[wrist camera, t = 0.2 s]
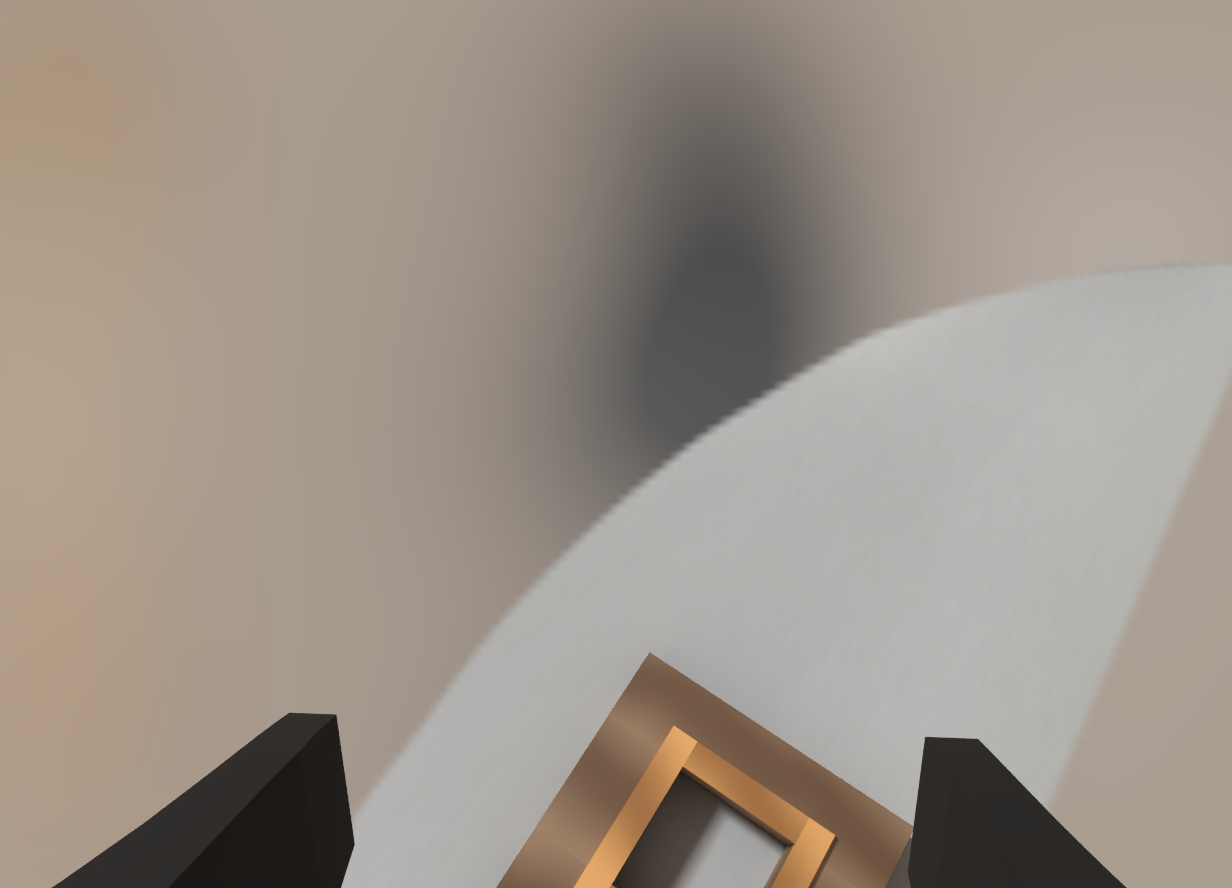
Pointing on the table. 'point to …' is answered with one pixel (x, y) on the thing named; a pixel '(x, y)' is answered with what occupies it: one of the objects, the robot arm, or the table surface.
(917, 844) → the robot arm
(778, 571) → the table surface
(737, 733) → the wooden peg hole board
